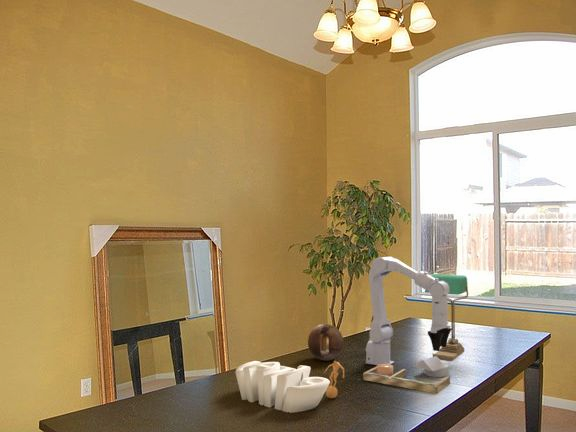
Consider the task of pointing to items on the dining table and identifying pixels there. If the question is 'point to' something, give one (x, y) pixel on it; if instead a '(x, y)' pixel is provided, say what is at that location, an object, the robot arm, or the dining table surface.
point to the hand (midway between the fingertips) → (439, 348)
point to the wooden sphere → (325, 342)
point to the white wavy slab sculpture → (280, 386)
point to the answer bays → (405, 381)
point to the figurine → (331, 390)
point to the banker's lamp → (452, 315)
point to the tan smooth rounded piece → (385, 369)
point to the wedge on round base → (434, 367)
